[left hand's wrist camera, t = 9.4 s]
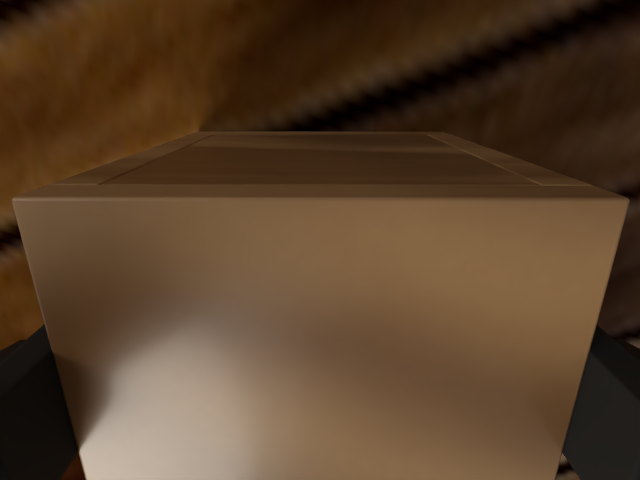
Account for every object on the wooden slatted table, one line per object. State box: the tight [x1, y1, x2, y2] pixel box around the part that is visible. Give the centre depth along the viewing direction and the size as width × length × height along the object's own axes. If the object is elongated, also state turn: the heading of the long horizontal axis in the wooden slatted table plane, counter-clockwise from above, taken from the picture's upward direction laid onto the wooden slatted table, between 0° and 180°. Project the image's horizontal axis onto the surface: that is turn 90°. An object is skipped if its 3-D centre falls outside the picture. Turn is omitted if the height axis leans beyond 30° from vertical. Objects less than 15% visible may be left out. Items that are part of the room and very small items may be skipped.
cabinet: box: [12, 131, 629, 480], centre depth 16 cm, size 19×11×12 cm, turn 0°
